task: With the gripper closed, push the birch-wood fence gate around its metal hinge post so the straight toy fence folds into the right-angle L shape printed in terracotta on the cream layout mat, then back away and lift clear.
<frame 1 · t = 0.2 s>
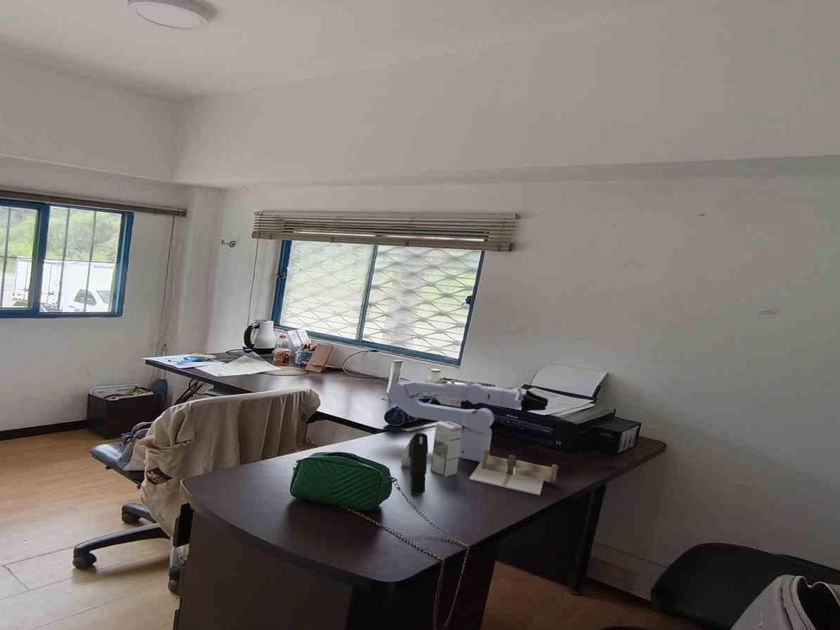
hand: (546, 404, 180), 21 cm above the table, tool horizontal, fingers open, 7 cm apart
syrup box: (443, 473, 168), on the table
fixed fence section: (509, 474, 173), resting on layout mat
handheld device: (411, 481, 158), on the table
layout mat: (508, 476, 172), on the table
fence gate: (535, 469, 171), point 3 cm above the table, hinge at 0.0°
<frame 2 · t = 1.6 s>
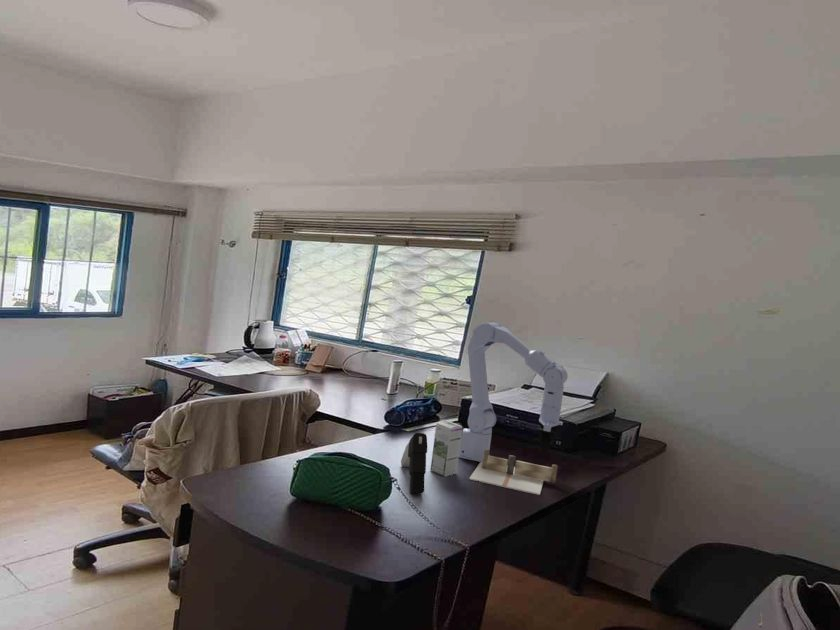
hand: (545, 449, 175), 8 cm above the table, tool pointing down, fingers open, 7 cm apart
nothing on the table moved.
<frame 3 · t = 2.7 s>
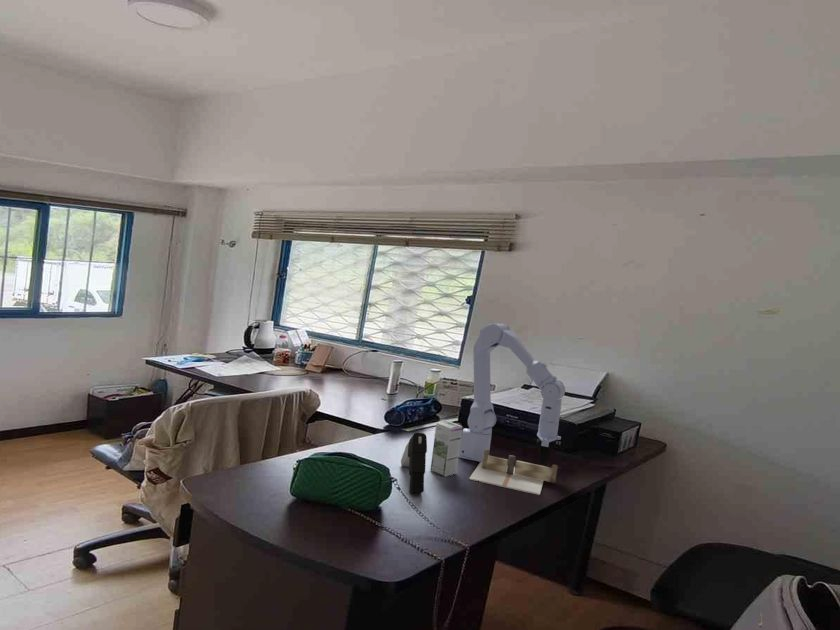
hand: (543, 464, 175), 4 cm above the table, tool pointing down, fingers closed
nothing on the table moved.
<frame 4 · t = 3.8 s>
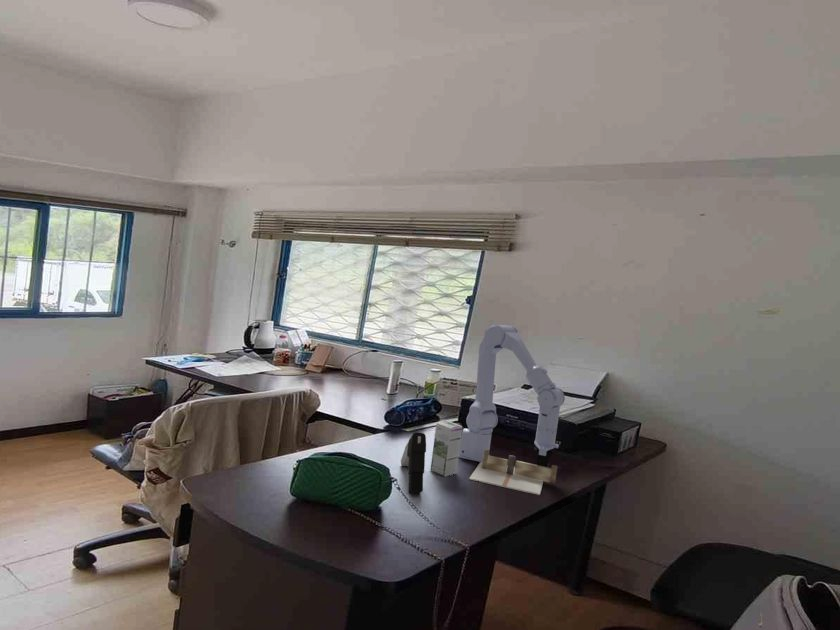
hand: (540, 472, 171), 2 cm above the table, tool pointing down, fingers closed, pressing on fence gate
fence gate: (535, 470, 171), point 3 cm above the table, hinge at -3.7°, touching gripper
everything else where it was.
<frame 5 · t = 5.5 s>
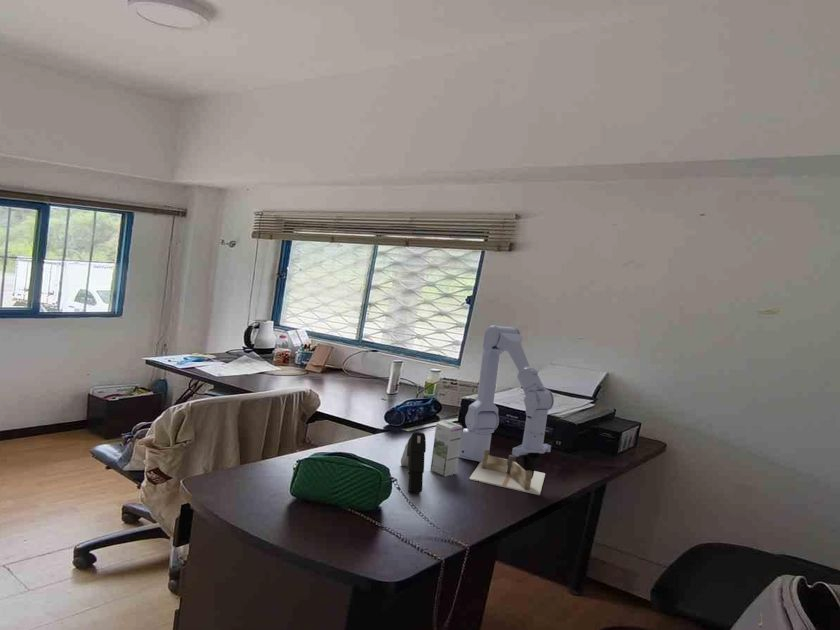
hand: (527, 478, 165), 2 cm above the table, tool pointing down, fingers closed, pressing on fence gate
fence gate: (520, 473, 166), point 3 cm above the table, hinge at -60.3°, touching gripper
everything else where it was.
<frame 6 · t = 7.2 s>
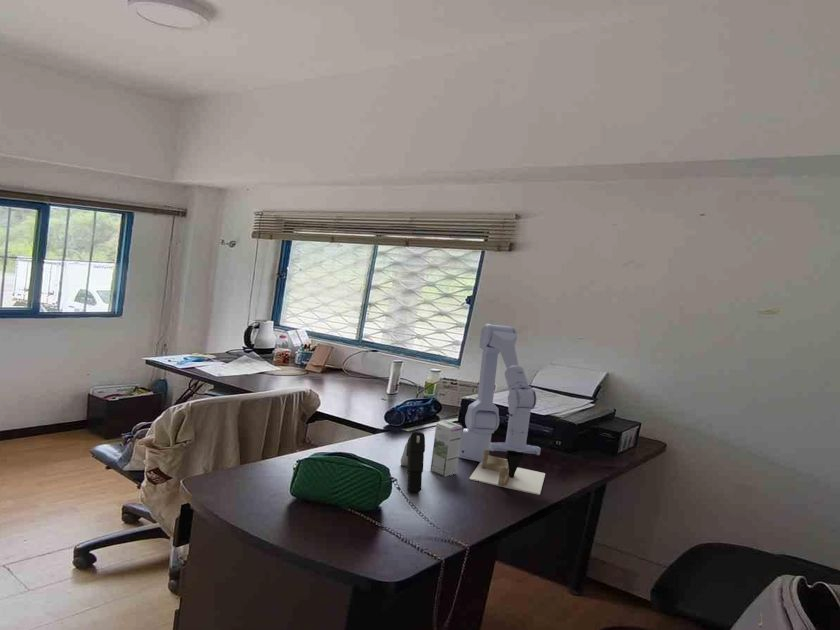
hand: (511, 476, 164), 2 cm above the table, tool pointing down, fingers closed
fence gate: (506, 471, 166), point 3 cm above the table, hinge at -94.0°, touching gripper
everything else where it was.
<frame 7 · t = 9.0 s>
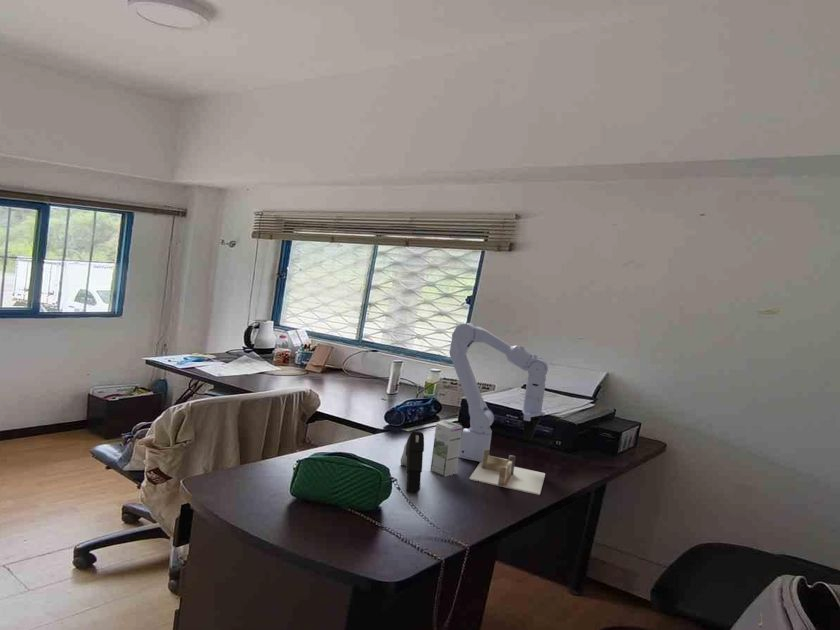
hand: (527, 439, 182), 9 cm above the table, tool pointing down, fingers closed
fence gate: (506, 471, 166), point 3 cm above the table, hinge at -94.0°
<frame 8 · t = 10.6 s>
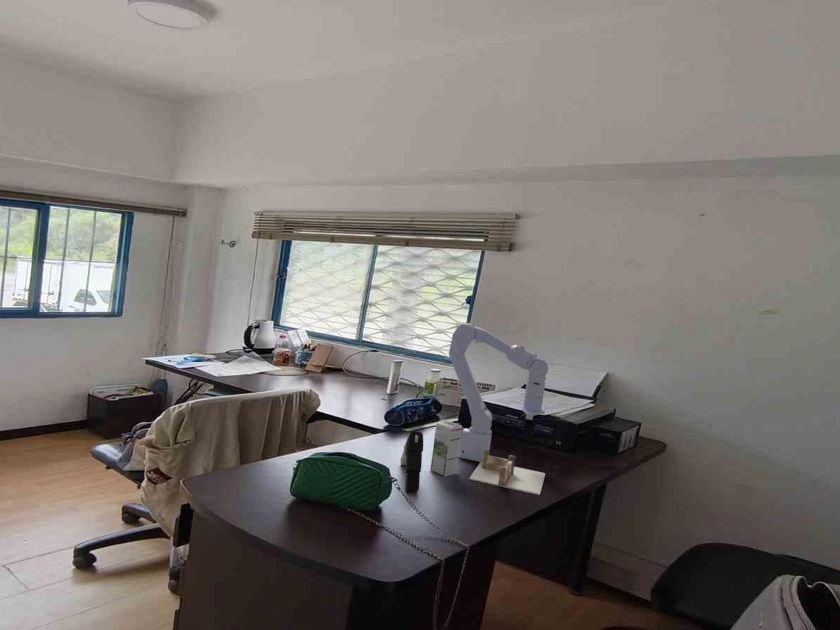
hand: (528, 437, 184), 9 cm above the table, tool pointing down, fingers closed
at the end: fence gate at -94° (first picture: +0°) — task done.
